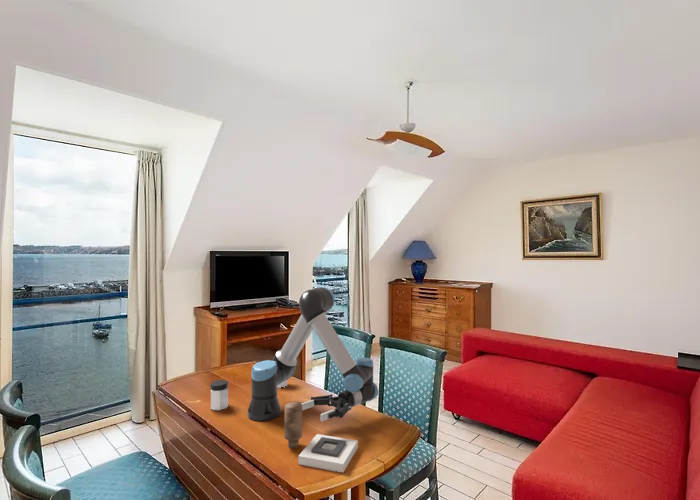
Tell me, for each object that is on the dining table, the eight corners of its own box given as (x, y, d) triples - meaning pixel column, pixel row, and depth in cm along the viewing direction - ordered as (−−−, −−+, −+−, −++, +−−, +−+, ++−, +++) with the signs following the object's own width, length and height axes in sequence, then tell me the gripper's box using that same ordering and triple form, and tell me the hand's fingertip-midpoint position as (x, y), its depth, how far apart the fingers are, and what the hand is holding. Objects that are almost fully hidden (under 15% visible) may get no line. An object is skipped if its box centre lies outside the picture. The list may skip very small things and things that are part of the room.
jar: (223, 402, 193) (222, 378, 193) (232, 406, 188) (232, 381, 188) (206, 407, 186) (206, 383, 186) (215, 412, 181) (215, 387, 181)
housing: (298, 464, 137) (298, 453, 137) (317, 441, 154) (317, 431, 154) (343, 472, 132) (343, 461, 132) (357, 448, 148) (357, 438, 148)
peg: (281, 448, 148) (281, 407, 148) (289, 440, 155) (289, 401, 154) (297, 451, 146) (297, 410, 146) (305, 443, 152) (305, 403, 152)
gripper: (369, 416, 160) (330, 432, 146) (331, 398, 179) (293, 411, 165) (369, 398, 160) (330, 413, 146) (331, 382, 179) (293, 394, 165)
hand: (310, 412), depth 155 cm, fingers open, 13 cm apart
